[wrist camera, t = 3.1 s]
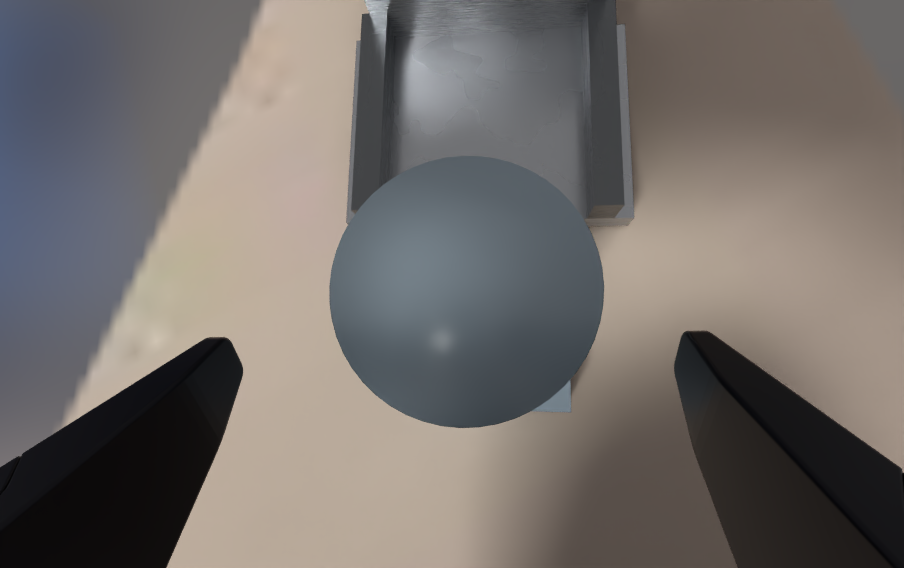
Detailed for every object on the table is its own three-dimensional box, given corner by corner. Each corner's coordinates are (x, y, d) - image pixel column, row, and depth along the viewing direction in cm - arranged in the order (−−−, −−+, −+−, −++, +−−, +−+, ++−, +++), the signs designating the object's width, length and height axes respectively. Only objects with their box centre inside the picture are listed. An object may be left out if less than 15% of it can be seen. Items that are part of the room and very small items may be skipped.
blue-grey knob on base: (565, 408, 17) (642, 466, 8) (407, 403, 18) (292, 450, 8) (562, 239, 19) (624, 100, 9) (413, 240, 19) (316, 113, 9)
